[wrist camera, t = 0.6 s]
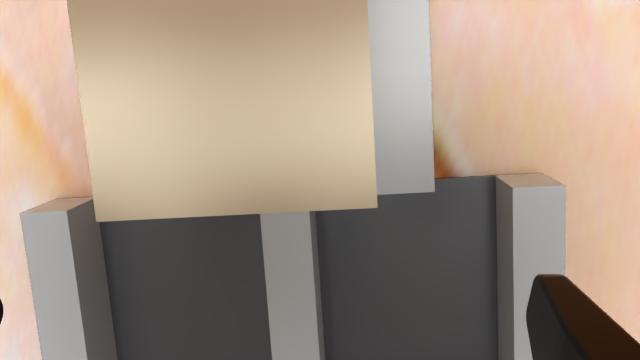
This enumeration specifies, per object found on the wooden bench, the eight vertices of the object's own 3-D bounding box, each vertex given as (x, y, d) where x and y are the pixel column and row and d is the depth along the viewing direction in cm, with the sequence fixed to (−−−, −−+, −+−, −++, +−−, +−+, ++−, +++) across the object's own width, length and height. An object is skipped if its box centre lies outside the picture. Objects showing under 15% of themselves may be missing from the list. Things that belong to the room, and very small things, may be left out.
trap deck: (541, 404, 28) (564, 443, 25) (87, 415, 29) (56, 454, 26) (540, -302, 23) (568, -359, 20) (-7, -242, 24) (-58, -287, 21)
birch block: (369, 157, 23) (377, 207, 14) (194, 167, 23) (96, 222, 15) (356, -86, 21) (357, -200, 13) (169, -70, 22) (44, -169, 13)
